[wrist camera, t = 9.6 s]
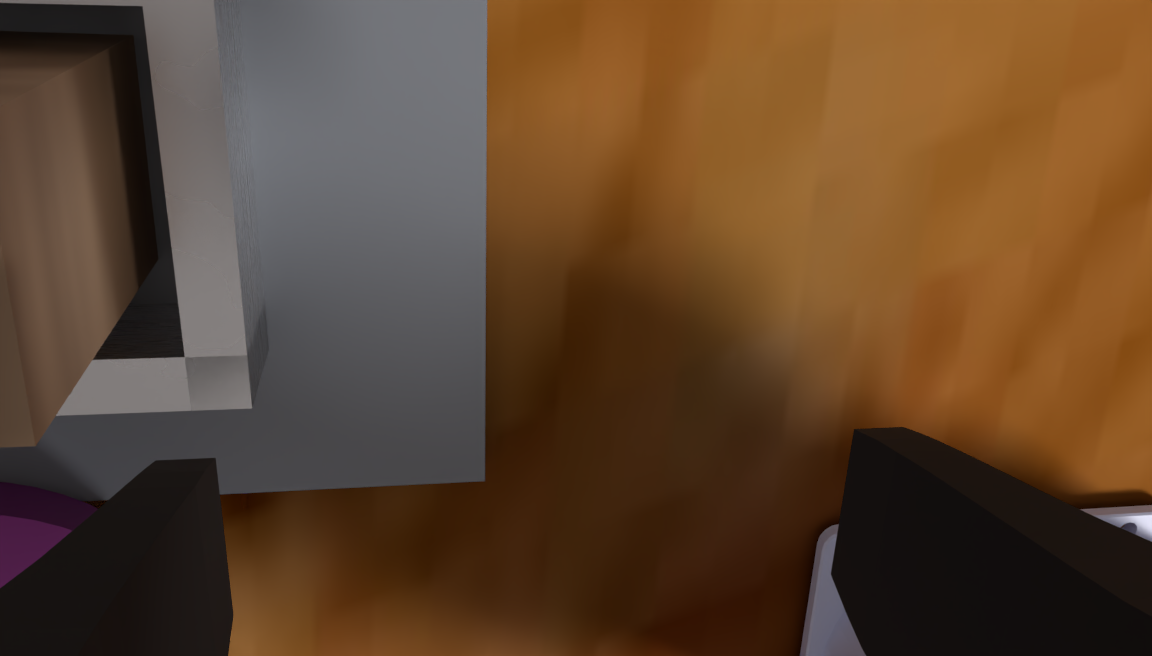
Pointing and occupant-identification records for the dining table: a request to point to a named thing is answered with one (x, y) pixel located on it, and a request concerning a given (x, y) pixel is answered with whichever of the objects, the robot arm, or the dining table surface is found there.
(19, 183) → the walnut peg
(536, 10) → the dining table surface
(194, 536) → the robot arm
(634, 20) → the dining table surface
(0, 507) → the mounting bracket
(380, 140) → the socket board
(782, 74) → the dining table surface
